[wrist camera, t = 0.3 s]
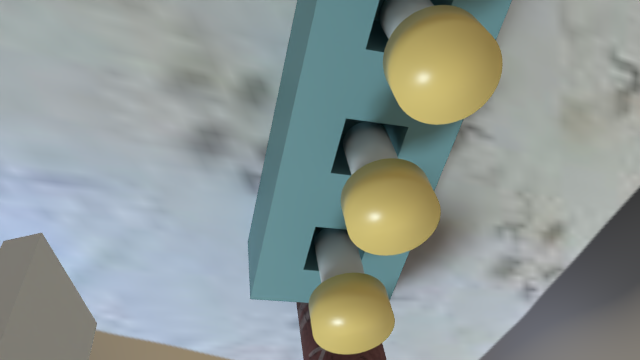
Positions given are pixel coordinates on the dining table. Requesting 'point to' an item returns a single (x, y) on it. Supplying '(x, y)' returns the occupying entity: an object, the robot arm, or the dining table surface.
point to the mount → (334, 140)
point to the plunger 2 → (438, 60)
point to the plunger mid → (385, 195)
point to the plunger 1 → (347, 298)
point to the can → (317, 356)
